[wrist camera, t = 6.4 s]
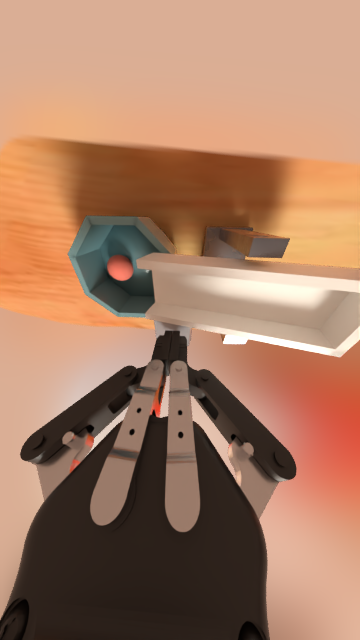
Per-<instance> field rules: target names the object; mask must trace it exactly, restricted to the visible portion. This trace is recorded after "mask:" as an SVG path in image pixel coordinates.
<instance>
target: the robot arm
mask: <svg viewBox="0 0 360 640" xmlns="http://www.w3.org/2000/svg"><path fill="white" fill-rule="evenodd" d="M169 374H170V392H169V410H168V411H169V414H168V416H167V417H163V418H160V408H161V403H162V398H163V393H164V389H165V382H166V376H169ZM190 395H191V396H194V398H195V399H196V401H197V402H198V403H199V405H200V406H201V407H202V409H203V410H204V411H205V412H206V414H207V415H208V416H209V418H210V419H211V421H212V422H213V423H214V424H215V426H216V427H217V428H218V430H219V431H220V432H221V434H222V435H223V436H224V438H225V439H226V440H227V442H228V443H229V444H230V445H229V447H228V457H229V460H230V462H231V464H232V466H233V467H234V470H235V473H236V480H235V479H234V477H233V475H232V474H231V472H230V471H229V469H228V467H227V466H226V465H225V463H224V461H223V460H222V458H221V457H220V455H219V453H218V452H217V450H216V449H215V447H214V445H213V444H212V443H211V441H210V439H209V438H208V436H207V435H206V433H205V432H204V430H203V429H202V428H201V427H200V426H199V425H198V424H197V423H196V422H194V421H192V410H191V398H190ZM128 406H129V407H128ZM127 407H128V410H127V413H126V415H125V418H124V420H123V421H121V422H120V423H119V424H117V425H116V426H115V427H114V428H113V429H112V430H111V431H110V432H109V433H108V435H106V437H105V438H104V439H103V440H102V441H101V442H100V443H99V444H98V445H97V446H96V447H95V448H94V449H93V450H92V451H91V452H90V453H89V451H90V450H91V448H92V446H93V443H94V438H95V437H96V436H97V435H98V434H99V433H100V432H101V431H102V430H103V429H104V428H105V427H106V426H107V425H109V423H111V422H112V421H113V420H114V419H115V418H116V417H117V416H118V415H119V414H120V413H121V412H122V411H123V410H124V409H125V408H127ZM88 453H89V454H88ZM87 454H88V455H87ZM20 455H21V458H22V460H25V461H28V462H31V463H32V464H35V465H36V466H37V470H38V475H39V479H40V484H41V487H42V492H43V497H44V503H43V504H42V506H41V507H40V509H39V510H38V512H37V514H36V516H35V517H34V520H33V522H32V524H31V526H30V529H29V531H28V534H27V537H26V540H25V544H24V549H23V554H22V558H21V563H20V567H19V571H18V574H17V578H16V581H15V584H14V587H13V590H12V593H11V596H10V599H9V601H8V604H7V606H6V609H5V611H4V613H3V616H2V617H1V620H0V640H270V637H269V630H268V621H267V607H266V579H267V550H266V543H265V538H264V534H263V530H262V527H261V524H260V522H259V518H260V516H261V514H262V513H263V511H264V509H265V507H266V505H267V503H268V501H269V499H270V497H271V495H272V494H273V492H274V490H275V488H276V486H277V484H278V483H279V482H282V481H286V480H290V479H293V478H294V477H295V475H296V464H295V461H294V459H293V457H292V455H291V454H290V452H289V451H288V450H287V449H286V448H285V447H284V446H283V445H282V444H281V443H280V442H279V441H278V440H277V439H276V438H275V437H274V436H273V435H272V434H271V433H270V432H269V431H268V429H267V428H266V427H265V426H264V425H263V424H262V423H261V422H259V420H258V419H257V418H256V417H255V416H253V414H252V413H251V412H250V411H249V410H248V409H247V408H246V407H245V406H244V405H243V404H242V403H241V402H240V401H239V400H238V399H237V398H236V397H235V396H234V395H233V394H232V393H231V392H230V391H229V390H228V389H227V388H226V387H225V386H224V385H223V384H222V383H221V382H220V381H219V380H218V379H217V378H216V377H215V376H214V375H213V374H212V373H211V372H210V371H208V370H205V369H202V370H199V371H197V370H194V369H192V368H190V367H189V365H188V364H187V339H186V337H185V336H180V331H172V330H165V333H164V335H159V337H158V338H157V340H156V344H155V348H154V351H153V355H152V359H151V362H149V363H148V365H147V366H144V367H141V368H137V369H136V368H135V367H134V366H126V367H124V368H123V369H121V370H120V371H119V372H117V373H116V374H114V375H113V376H112V377H110V378H109V379H107V380H106V381H105V382H103V383H102V384H100V385H99V386H98V387H96V388H95V389H94V390H92V391H91V392H90V393H88V394H87V395H85V396H84V397H83V398H81V399H80V400H79V401H77V402H76V403H74V404H73V405H72V406H70V407H69V408H68V409H66V410H65V411H63V412H62V413H61V414H59V415H58V416H57V417H55V418H54V419H53V420H51V421H50V422H48V423H47V424H46V425H45V426H43V427H42V428H40V429H39V430H37V431H36V432H35V433H33V434H32V435H31V436H30V437H29V438H28V439H27V441H26V442H25V443H24V445H23V447H22V449H21V453H20ZM86 455H87V456H86ZM85 456H86V457H85Z"/></svg>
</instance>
